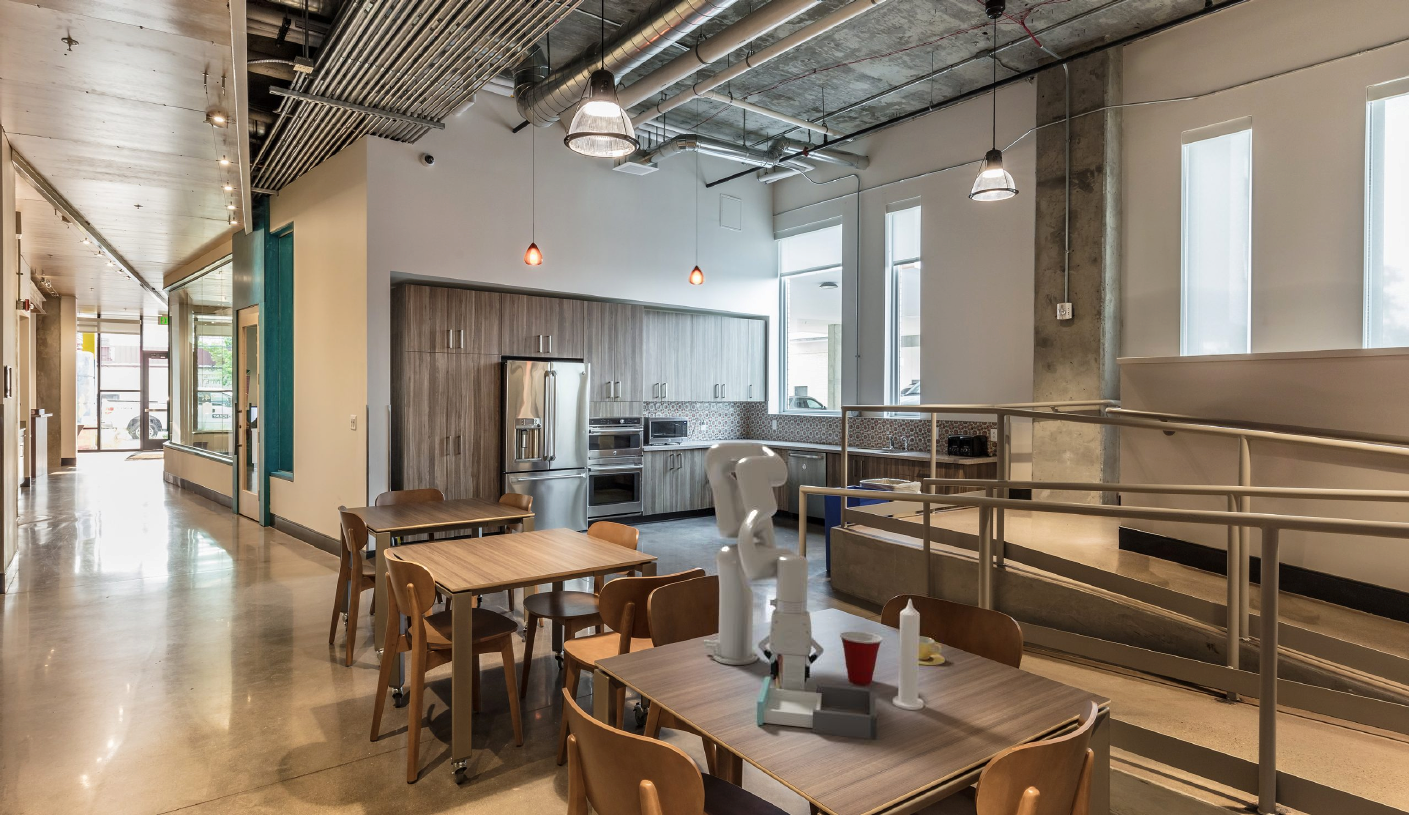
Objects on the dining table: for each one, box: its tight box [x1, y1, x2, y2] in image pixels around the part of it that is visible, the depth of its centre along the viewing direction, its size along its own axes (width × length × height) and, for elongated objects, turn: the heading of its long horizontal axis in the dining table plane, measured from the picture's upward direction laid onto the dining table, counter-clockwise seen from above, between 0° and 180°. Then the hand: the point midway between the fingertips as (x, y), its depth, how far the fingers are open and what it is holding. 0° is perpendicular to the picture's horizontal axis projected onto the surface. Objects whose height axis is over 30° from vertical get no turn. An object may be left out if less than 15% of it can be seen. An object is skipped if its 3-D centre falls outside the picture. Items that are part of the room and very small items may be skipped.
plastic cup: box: [839, 630, 884, 687], centre depth 186 cm, size 11×11×12 cm
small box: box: [775, 654, 805, 692], centre depth 177 cm, size 8×6×10 cm
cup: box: [919, 635, 946, 666], centre depth 205 cm, size 12×12×5 cm
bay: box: [811, 684, 878, 740], centre depth 163 cm, size 13×16×4 cm
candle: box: [892, 598, 924, 711], centre depth 172 cm, size 7×7×25 cm
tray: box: [756, 676, 822, 729], centre depth 165 cm, size 13×15×5 cm
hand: (790, 678), depth 177 cm, fingers closed on small box, 6 cm apart
